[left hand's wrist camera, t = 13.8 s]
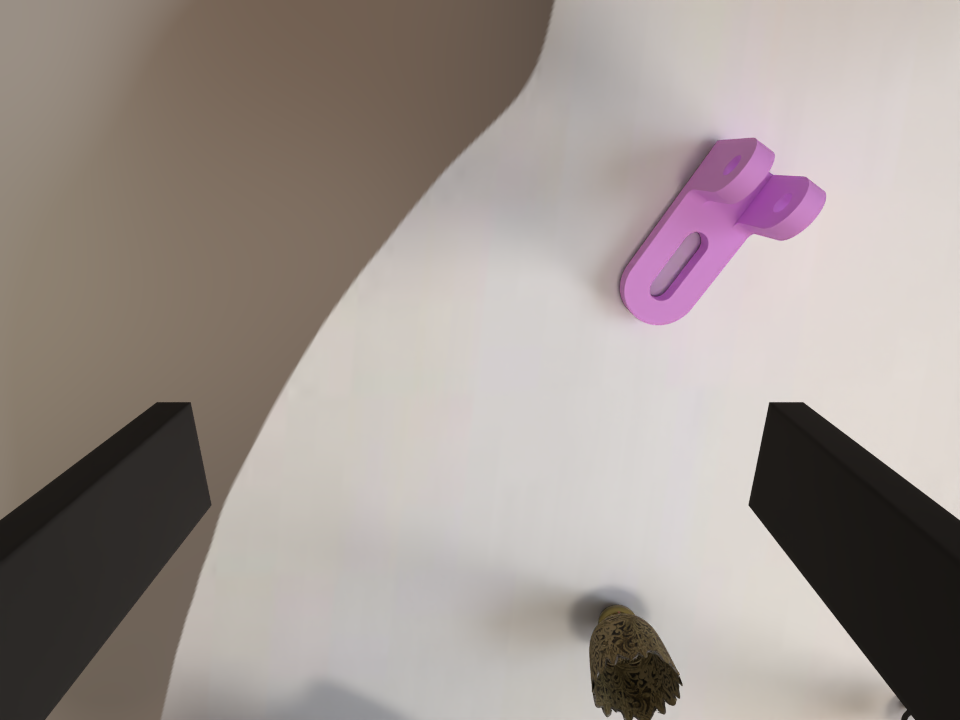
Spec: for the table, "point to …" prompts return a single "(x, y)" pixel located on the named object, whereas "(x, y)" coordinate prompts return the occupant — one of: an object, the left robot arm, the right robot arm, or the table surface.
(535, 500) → the table surface
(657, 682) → the cup
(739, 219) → the bracket
